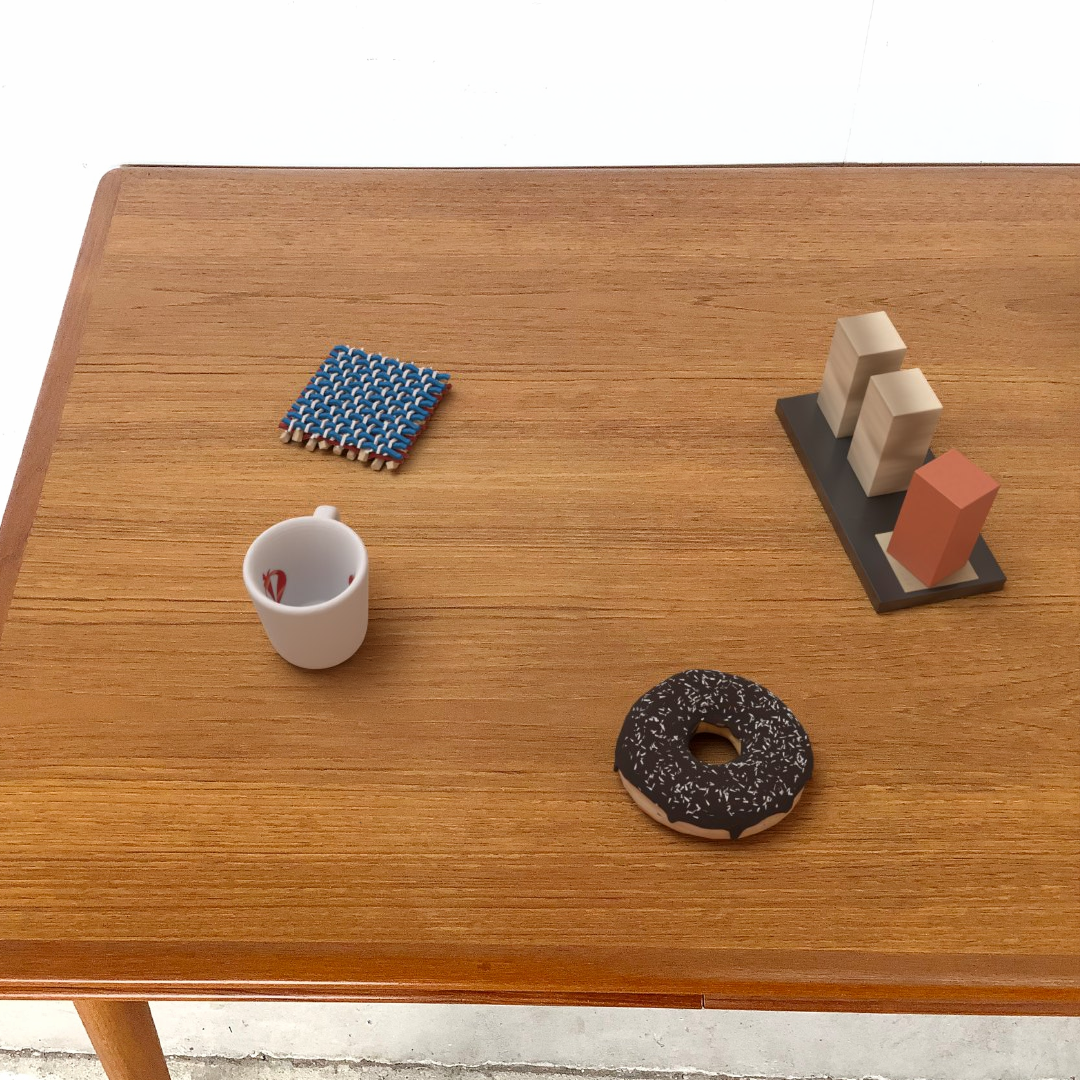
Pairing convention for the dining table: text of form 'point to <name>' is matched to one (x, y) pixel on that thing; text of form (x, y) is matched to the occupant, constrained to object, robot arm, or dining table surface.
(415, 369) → the woven mat
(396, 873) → the dining table surface
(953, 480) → the terracotta rectangular block
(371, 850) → the dining table surface
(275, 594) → the cup
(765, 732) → the donut
